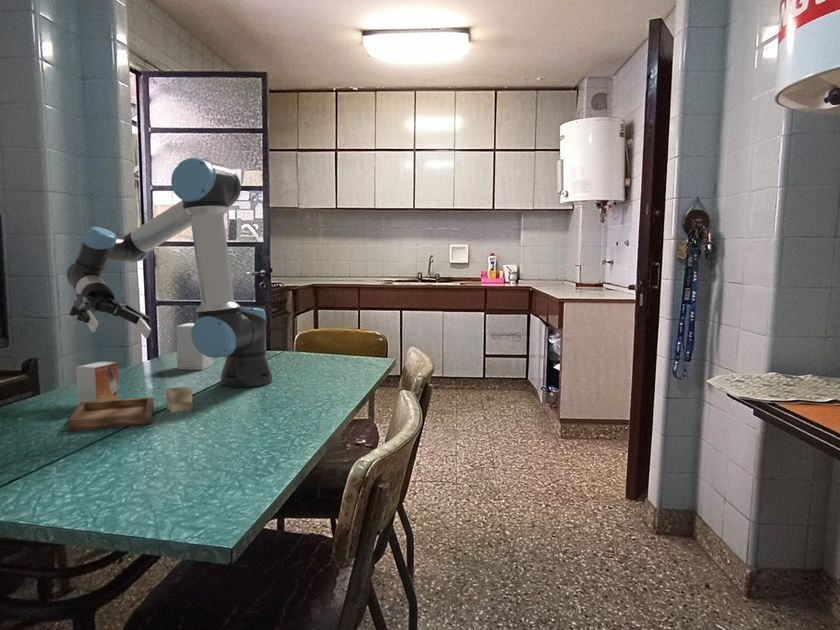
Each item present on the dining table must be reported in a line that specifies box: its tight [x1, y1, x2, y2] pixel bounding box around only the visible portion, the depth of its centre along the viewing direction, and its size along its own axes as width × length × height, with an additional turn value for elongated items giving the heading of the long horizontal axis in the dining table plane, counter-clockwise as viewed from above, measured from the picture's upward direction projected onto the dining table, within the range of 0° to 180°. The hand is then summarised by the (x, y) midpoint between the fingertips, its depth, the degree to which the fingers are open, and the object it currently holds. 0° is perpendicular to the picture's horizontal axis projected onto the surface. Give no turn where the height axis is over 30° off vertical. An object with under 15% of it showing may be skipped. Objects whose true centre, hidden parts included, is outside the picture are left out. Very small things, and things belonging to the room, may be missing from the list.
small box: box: [75, 360, 120, 406], centre depth 141 cm, size 8×6×10 cm
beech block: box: [165, 386, 193, 413], centre depth 139 cm, size 5×5×5 cm
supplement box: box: [176, 322, 213, 371], centre depth 189 cm, size 9×9×15 cm
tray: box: [67, 396, 155, 433], centre depth 130 cm, size 16×16×2 cm
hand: (122, 330), depth 144 cm, fingers open, 13 cm apart
